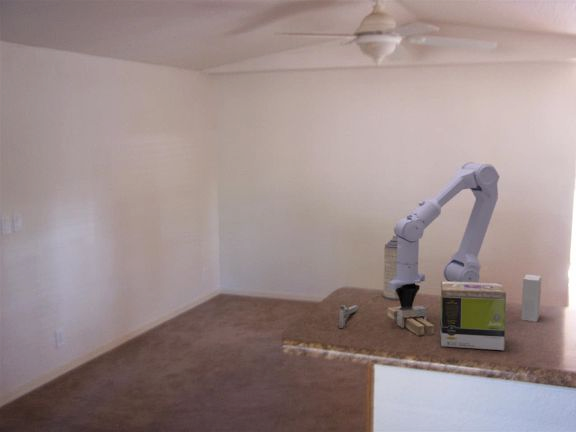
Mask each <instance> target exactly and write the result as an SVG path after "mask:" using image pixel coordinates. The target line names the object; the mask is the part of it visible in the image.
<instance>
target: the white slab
mask: <svg viewBox="0 0 576 432" xmlns="http://www.w3.org/2000/svg"><path fill="white" fill-rule="evenodd" d="M399 307H400V306H399ZM416 316H419V317H420V318H422V319H424V320H425V321H427V308H426V307H425V306H423V305H414V306H413V305H412V306H411V307H400V308H398V309H397V321H396V325H397V326H398V327H400V328H402V329H404V328H405V326H404V318H406V317H416Z"/></svg>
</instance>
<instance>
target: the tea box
mask: <svg viewBox="0 0 576 432" xmlns="http://www.w3.org/2000/svg"><path fill="white" fill-rule="evenodd" d="M506 294H507V292H506V291H505V289H504V287H503V285H502V283H501V282H500V283H499V282H481V281H479V282H453V281H447V280H441V282H440V313H441V315H440V320H439V321H440V322H439V323H440V327H439V328H440V342H441V343H440V344H441V347H446V348H447V347H449V348H462V349H463V348H466V349H479V350H491V351H492V350H496V351H504V350H505V344H506V343H505V340H506V339H505V337H506V309H507V308H506V307H507V306H506V305H507V300H506V299H507V295H506Z"/></svg>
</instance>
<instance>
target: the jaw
mask: <svg viewBox="0 0 576 432" xmlns="http://www.w3.org/2000/svg"><path fill="white" fill-rule="evenodd" d="M395 321H396V322H397V312H396V320H395ZM404 328H406V329H407V330H409V331H410V332H412V333H413V334H415V335H416V336H424V335H425V333H424V326H423V325H422V324H420V323H419V322H417V321H415V320H414V319H412V318H411V317H406V318H404Z"/></svg>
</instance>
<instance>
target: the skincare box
mask: <svg viewBox="0 0 576 432" xmlns="http://www.w3.org/2000/svg"><path fill="white" fill-rule="evenodd" d="M522 280H523V281H522V296H521V297H522V298H521V300H522V301H521V302H522V303H521V318H520V320H521V321H526V320H527V322H534V323H537V321H538V320H539V318H540V313H541V309H540V308H541V293H542V291H541V288H542V275H536V274H525V276H524V278H523V279H522Z"/></svg>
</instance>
